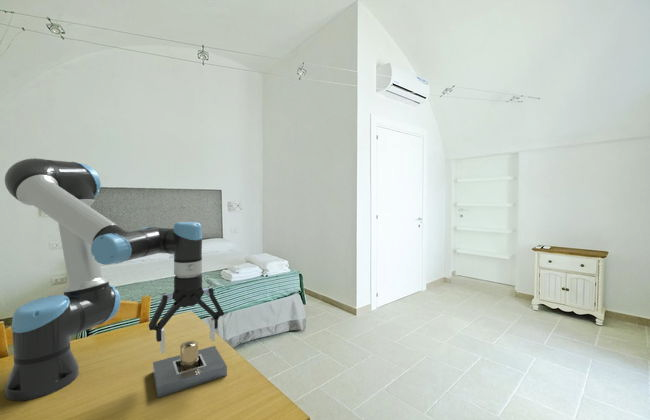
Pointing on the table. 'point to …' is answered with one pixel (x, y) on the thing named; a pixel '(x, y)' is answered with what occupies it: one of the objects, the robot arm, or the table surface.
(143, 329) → the table surface
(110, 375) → the table surface
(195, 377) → the plate
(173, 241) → the robot arm
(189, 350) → the brass domed cylinder
